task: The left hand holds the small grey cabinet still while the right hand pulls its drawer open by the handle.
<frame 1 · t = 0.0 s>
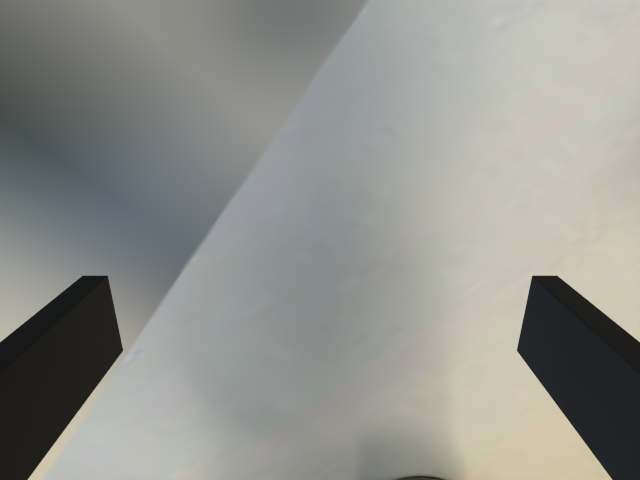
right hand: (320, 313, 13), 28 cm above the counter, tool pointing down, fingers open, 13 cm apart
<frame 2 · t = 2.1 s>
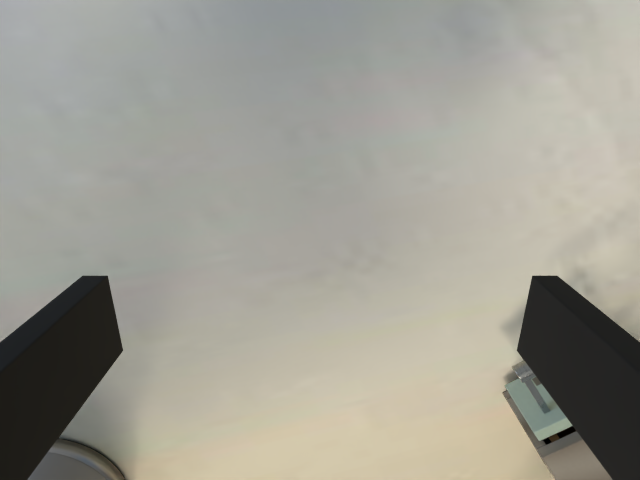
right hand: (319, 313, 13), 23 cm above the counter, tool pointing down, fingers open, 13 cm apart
cabinet: (577, 414, 44), on the counter
drawer: (581, 410, 38), point 4 cm above the counter, slide at 0.6 cm
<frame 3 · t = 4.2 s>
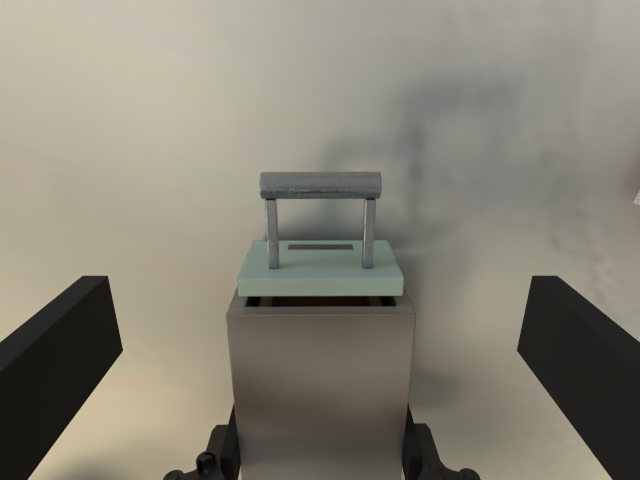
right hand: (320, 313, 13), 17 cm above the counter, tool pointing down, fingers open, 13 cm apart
cabinet: (320, 340, 33), on the counter, touching left hand
drawer: (320, 308, 27), point 4 cm above the counter, slide at 0.6 cm
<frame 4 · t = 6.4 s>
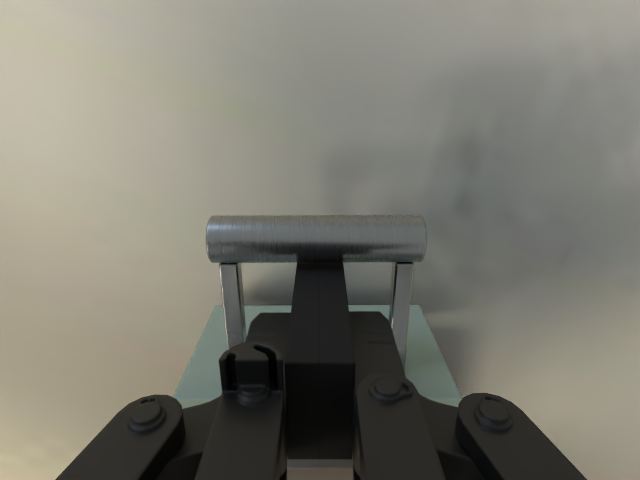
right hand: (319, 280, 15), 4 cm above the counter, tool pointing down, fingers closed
cabinet: (318, 437, 23), on the counter, touching left hand
drawer: (317, 417, 17), point 4 cm above the counter, slide at 0.7 cm, touching right hand
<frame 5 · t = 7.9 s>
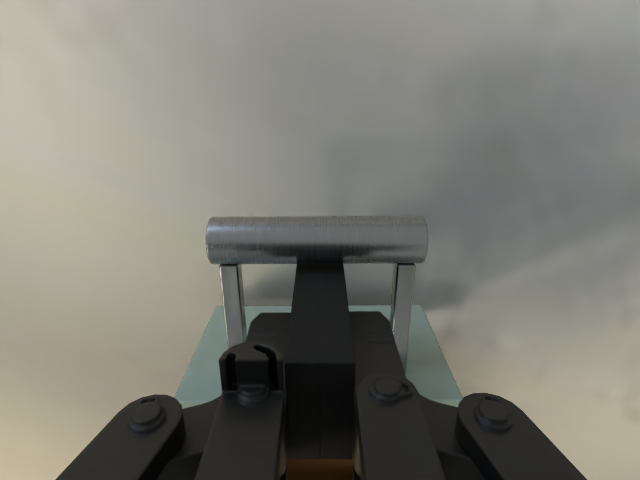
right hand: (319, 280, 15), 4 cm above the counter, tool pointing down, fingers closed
drawer: (318, 418, 17), point 4 cm above the counter, slide at 7.3 cm, touching right hand
when the left hand's fingers open (3 cm above the counter, at t = 9.6 s): cabinet stays where it is, on the counter.
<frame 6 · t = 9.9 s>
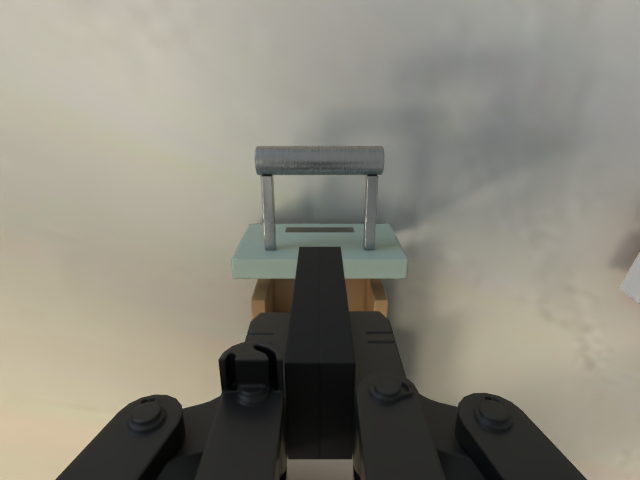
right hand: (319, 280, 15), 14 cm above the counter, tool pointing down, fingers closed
cabinet: (319, 400, 34), on the counter
drawer: (319, 294, 26), point 4 cm above the counter, slide at 7.5 cm
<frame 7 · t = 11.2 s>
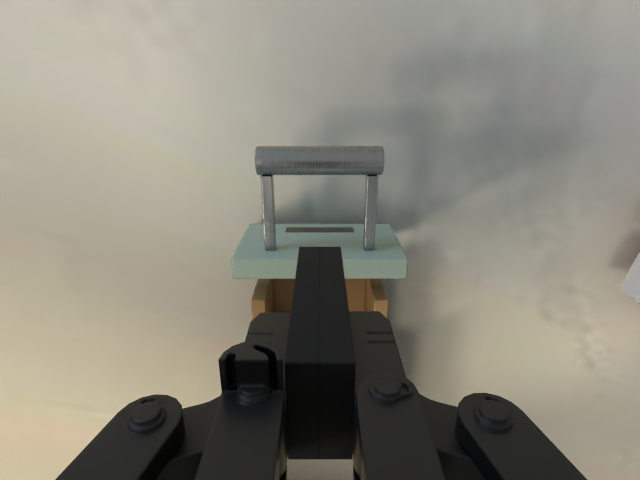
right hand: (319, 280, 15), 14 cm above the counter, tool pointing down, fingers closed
cabinet: (319, 400, 34), on the counter
drawer: (319, 294, 26), point 4 cm above the counter, slide at 7.5 cm
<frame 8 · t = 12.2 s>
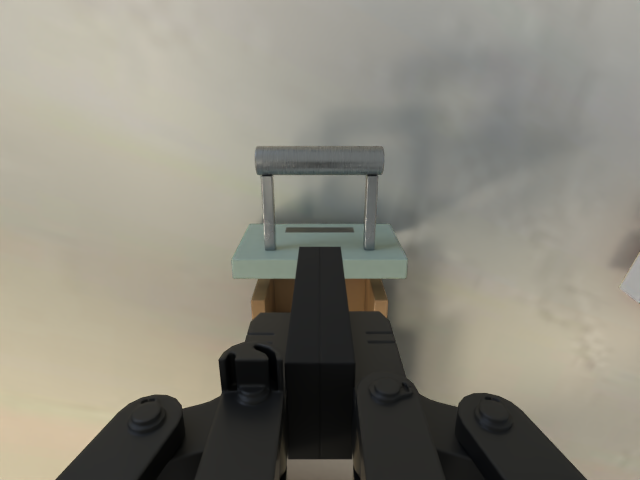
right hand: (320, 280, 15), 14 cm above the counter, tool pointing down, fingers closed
cabinet: (319, 400, 34), on the counter
drawer: (319, 294, 26), point 4 cm above the counter, slide at 7.5 cm
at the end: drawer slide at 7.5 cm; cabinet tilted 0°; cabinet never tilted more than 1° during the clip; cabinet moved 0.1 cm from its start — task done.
